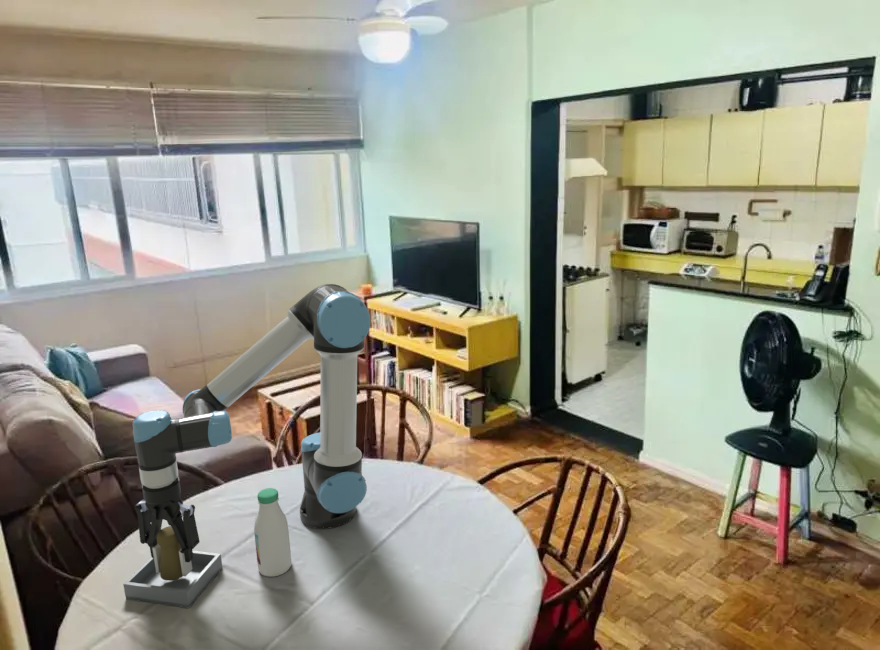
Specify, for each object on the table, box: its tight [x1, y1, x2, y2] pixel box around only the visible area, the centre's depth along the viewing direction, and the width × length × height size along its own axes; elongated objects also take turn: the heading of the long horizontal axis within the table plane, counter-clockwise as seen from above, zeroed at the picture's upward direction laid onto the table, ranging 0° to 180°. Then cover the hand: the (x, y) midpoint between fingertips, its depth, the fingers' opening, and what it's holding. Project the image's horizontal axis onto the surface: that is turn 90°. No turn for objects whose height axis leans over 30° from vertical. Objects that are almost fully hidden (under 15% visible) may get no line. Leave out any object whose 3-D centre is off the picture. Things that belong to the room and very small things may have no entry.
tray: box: [123, 549, 223, 609], centre depth 140 cm, size 16×14×4 cm
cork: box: [157, 525, 183, 581], centre depth 138 cm, size 6×6×11 cm
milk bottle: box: [253, 487, 292, 578], centre depth 143 cm, size 8×8×20 cm
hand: (174, 570), depth 139 cm, fingers closed on cork, 6 cm apart
